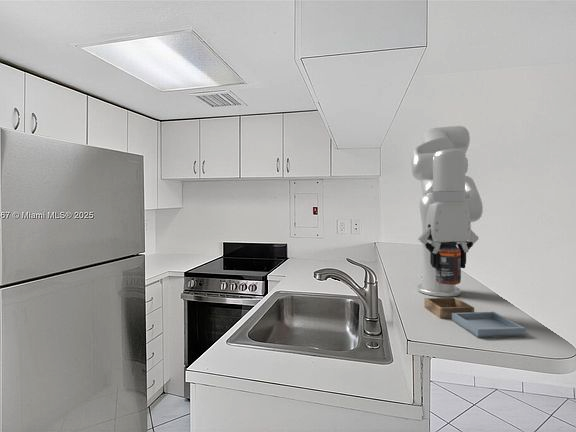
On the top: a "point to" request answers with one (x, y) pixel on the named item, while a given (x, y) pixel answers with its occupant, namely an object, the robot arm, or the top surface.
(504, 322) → the tray
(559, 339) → the top surface
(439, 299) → the holder
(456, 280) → the supplement bottle
